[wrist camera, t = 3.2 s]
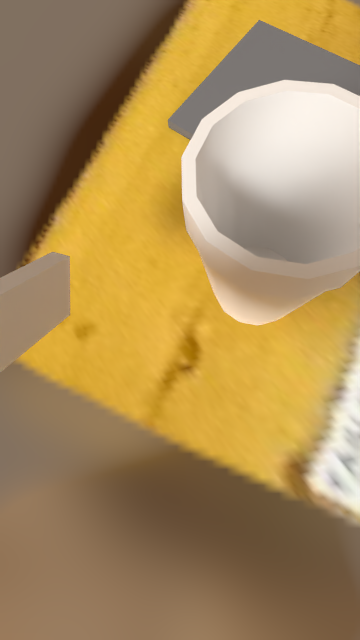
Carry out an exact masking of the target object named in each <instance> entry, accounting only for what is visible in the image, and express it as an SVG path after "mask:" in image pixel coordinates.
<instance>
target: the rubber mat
mask: <svg viewBox="0 0 360 640" xmlns="http://www.w3.org/2000/svg"><path fill="white" fill-rule="evenodd" d="M282 80H292V81H304V82H316V83H328V84H335V85H337V86H339V87H341V88H343V89H345V90H348V91H350V92H352V93H354V94H356V95H358V96H360V65H358V64H355V63H353V62H351V61H349V60H347V59H344V58H342V57H340V56H338V55H335V54H333V53H331V52H329V51H327V50H324V49H322V48H320V47H318V46H316V45H313V44H311V43H309V42H307V41H305V40H302V39H300V38H298V37H296V36H293V35H291V34H289V33H287V32H285V31H282V30H280V29H278V28H276V27H274V26H271V25H269V24H267V23H265V22H263V21H260V20H259V21H258V22H257V23H256V24H255V25H254V26H253V27H252V29H251V30H250V31H249V32H248V33H247V34H246V35H245V36H244V37H243V38H242V39H241V41H240V42H239V43H238V44H237V45H236V46H235V47H234V48H233V49H232V50H231V52H230V53H229V54H228V55H227V56H226V57H225V58H224V59H223V60H222V61H221V62H220V64H219V65H218V66H217V67H216V68H215V69H214V70H213V71H212V72H211V73H210V74H209V76H208V77H207V78H206V79H205V80H204V81H203V82H202V83H201V84H200V85H199V87H198V88H197V89H196V90H195V91H194V92H193V93H192V94H191V95H190V96H189V97H188V99H187V100H186V101H185V102H184V103H183V104H182V105H181V106H180V107H179V108H178V109H177V111H176V112H175V113H174V114H173V115H172V116H171V117H170V118H169V119H168V125H169V128H171V129H173V130H174V131H176V132H178V133H179V134H181V135H183V136H185V137H186V138H188V139H190V140H191V138H192V137H193V135H194V133H195V131H196V129H197V127H198V125H199V124H200V122H201V120H202V119H203V118H204V117H205V116H207V115H208V114H209V113H211V112H212V111H213V110H215V109H216V108H218V107H219V106H220V105H222V104H223V103H224V102H226V101H227V100H228V99H230V98H231V97H232V96H234V95H235V94H236V93H238V92H241V91H244V90H248V89H252V88H256V87H259V86H263V85H267V84H271V83H274V82H278V81H282Z"/></svg>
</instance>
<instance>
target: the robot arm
mask: <svg viewBox="0 0 360 640" xmlns="http://www.w3.org/2000/svg"><path fill="white" fill-rule="evenodd" d="M69 315H70V256H66V255H63V254H59V253H55V252H51V253H49V254H47V255H45V256H43V257H41V258H39V259H37V260H35V261H33V262H31V263H29V264H27V265H25V266H23V267H21V268H19V269H17V270H15V271H13V272H11V273H9V274H7V275H5V276H3V277H1V278H0V372H1V371H3V369H5V368H6V367H7V366H9V365H10V364H11V363H12V362H13V361H15V360H16V359H17V358H18V357H19V356H21V355H22V354H23V353H24V352H26V351H27V350H28V349H29V348H30V347H32V346H33V345H34V344H35V343H36V342H38V341H39V340H40V339H41V338H42V337H44V336H45V335H46V334H47V333H48V332H50V331H51V330H52V329H53V328H55V327H56V326H57V325H58V324H59V323H61V322H62V321H63V320H64V319H65V318H67V317H68V316H69Z"/></svg>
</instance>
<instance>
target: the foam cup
mask: <svg viewBox="0 0 360 640" xmlns="http://www.w3.org/2000/svg"><path fill="white" fill-rule="evenodd" d="M182 202H183V210H184V217H185V225H186V230H187V232H188V234H189V236H190V237H191V239H192V241H193V243H194V244H195V246H196V248H197V249H198V251H199V254H200V257H201V259H202V262H203V265H204V267H205V270H206V273H207V275H208V278H209V281H210V284H211V286H212V289H213V292H214V294H215V296H216V298H217V300H218V302H219V303H220V305H221V307H222V309H223V310H224V312H226V313H227V314H229V315H230V316H232V317H233V318H234V319H236V320H237V321H239V322H243V323H248V324H254V325H261V324H265V323H269V322H273V321H277V320H279V319H280V318H282V317H284V316H285V315H287V314H289V313H290V312H292V311H294V310H295V309H297V308H299V307H300V306H302V305H304V304H305V303H307V302H309V301H310V300H312V299H314V298H315V297H317V296H319V295H320V294H322V293H324V292H325V291H329V290H333V289H337V288H341V287H342V286H343V285H344V284H345V283H347V282H348V281H349V280H350V279H351V278H352V277H354V276H355V275H356V274H357V273H358V272H359V271H360V96H358V95H356V94H354V93H352V92H350V91H348V90H345V89H343V88H341V87H339V86H337V85H335V84H328V83H316V82H304V81H292V80H282V81H278V82H274V83H271V84H267V85H263V86H259V87H256V88H252V89H248V90H244V91H241V92H238V93H236V94H235V95H234V96H232V97H231V98H230V99H228V100H227V101H226V102H224V103H223V104H222V105H220V106H219V107H218V108H216V109H215V110H213V111H212V112H211V113H209V114H208V115H207V116H205V117H204V118H203V119H202V120H201V122H200V124H199V125H198V127H197V129H196V131H195V133H194V135H193V137H192V138H191V140H190V142H189V144H188V146H187V148H186V150H185V151H184V153H183V155H182Z"/></svg>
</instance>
